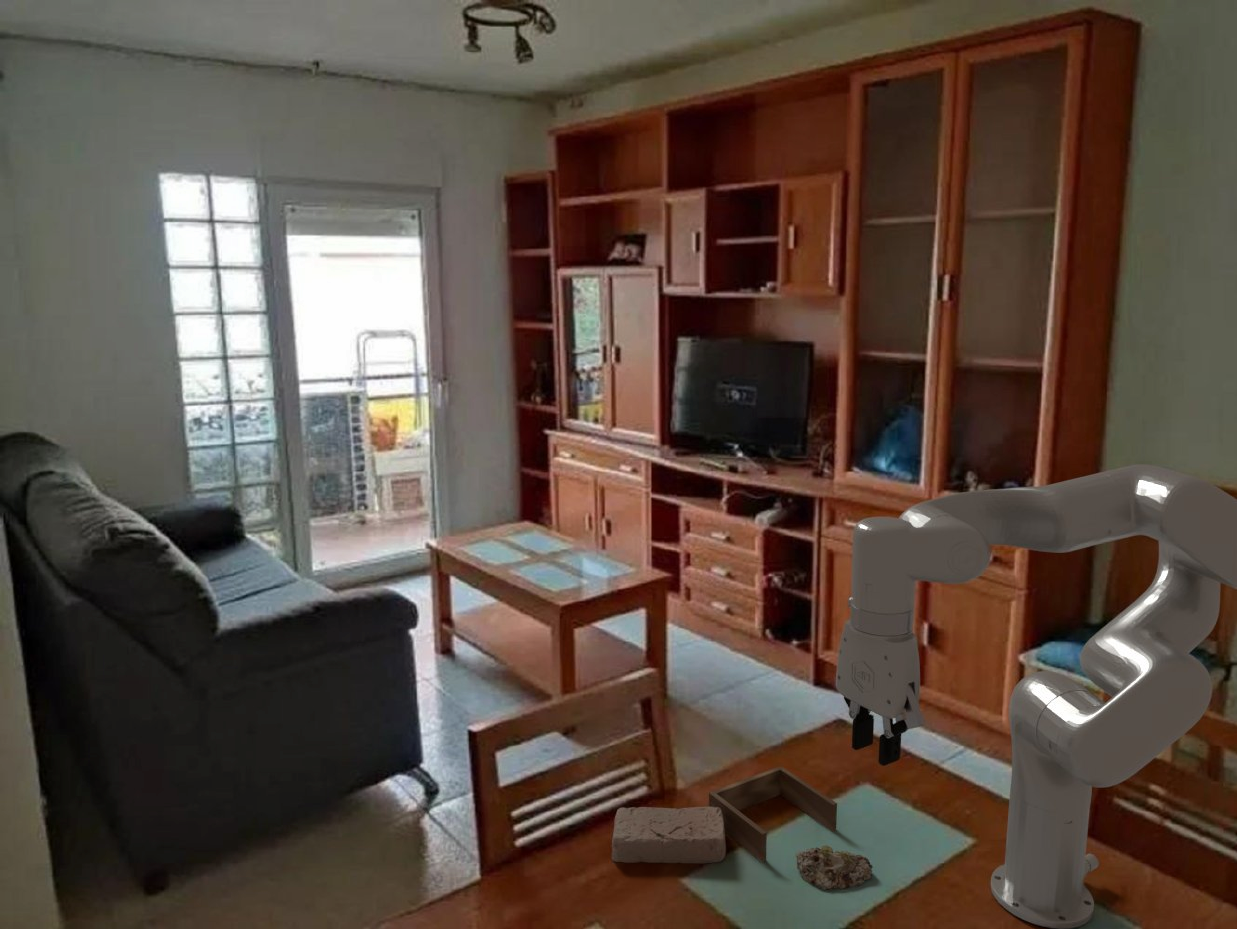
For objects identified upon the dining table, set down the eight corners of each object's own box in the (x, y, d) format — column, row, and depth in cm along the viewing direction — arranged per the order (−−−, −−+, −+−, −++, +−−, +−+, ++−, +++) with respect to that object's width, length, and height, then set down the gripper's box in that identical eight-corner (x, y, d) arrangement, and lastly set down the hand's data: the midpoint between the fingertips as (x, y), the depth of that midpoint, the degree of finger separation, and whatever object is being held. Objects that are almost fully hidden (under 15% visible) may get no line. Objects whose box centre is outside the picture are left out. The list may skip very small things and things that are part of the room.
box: (780, 791, 148) (780, 766, 147) (836, 830, 137) (837, 803, 136) (708, 818, 141) (708, 792, 140) (761, 862, 130) (762, 834, 129)
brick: (611, 865, 130) (611, 836, 129) (614, 830, 139) (614, 803, 138) (726, 867, 130) (726, 838, 129) (722, 833, 138) (722, 805, 137)
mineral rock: (797, 877, 123) (795, 830, 130) (795, 899, 125) (793, 851, 132) (878, 885, 122) (871, 837, 129) (874, 907, 124) (868, 858, 131)
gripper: (811, 604, 116) (808, 735, 120) (913, 646, 102) (906, 793, 105) (853, 593, 120) (849, 720, 123) (958, 633, 106) (949, 775, 109)
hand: (875, 753), depth 114 cm, fingers open, 3 cm apart
